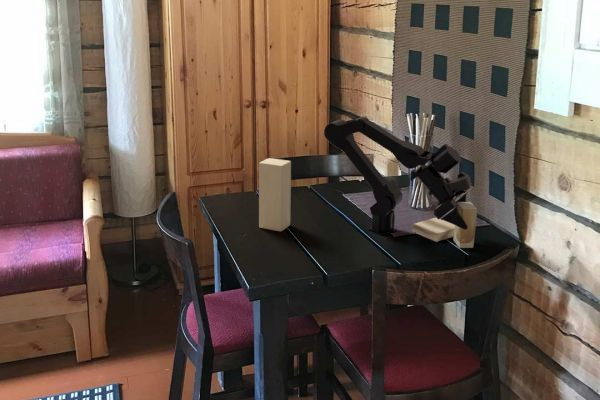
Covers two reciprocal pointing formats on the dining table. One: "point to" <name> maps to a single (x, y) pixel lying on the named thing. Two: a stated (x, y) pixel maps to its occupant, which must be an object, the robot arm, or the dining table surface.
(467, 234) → the skincare box
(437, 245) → the dining table surface
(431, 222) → the birch block
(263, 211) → the beige tall rectangular block
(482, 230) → the dining table surface
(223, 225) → the dining table surface
